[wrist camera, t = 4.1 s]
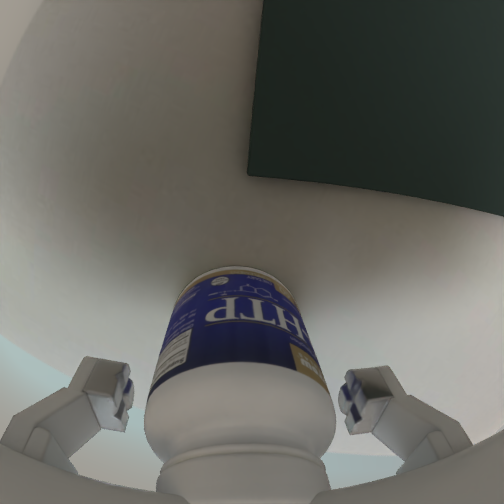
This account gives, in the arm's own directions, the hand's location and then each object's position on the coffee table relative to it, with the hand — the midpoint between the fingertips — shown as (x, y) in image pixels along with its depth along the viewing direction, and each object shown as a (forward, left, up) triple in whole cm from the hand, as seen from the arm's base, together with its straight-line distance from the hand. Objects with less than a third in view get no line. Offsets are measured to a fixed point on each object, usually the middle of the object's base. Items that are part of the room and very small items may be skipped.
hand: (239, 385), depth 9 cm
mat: (+10, +15, -4) cm, 19 cm away
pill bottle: (0, 0, -4) cm, 4 cm away
